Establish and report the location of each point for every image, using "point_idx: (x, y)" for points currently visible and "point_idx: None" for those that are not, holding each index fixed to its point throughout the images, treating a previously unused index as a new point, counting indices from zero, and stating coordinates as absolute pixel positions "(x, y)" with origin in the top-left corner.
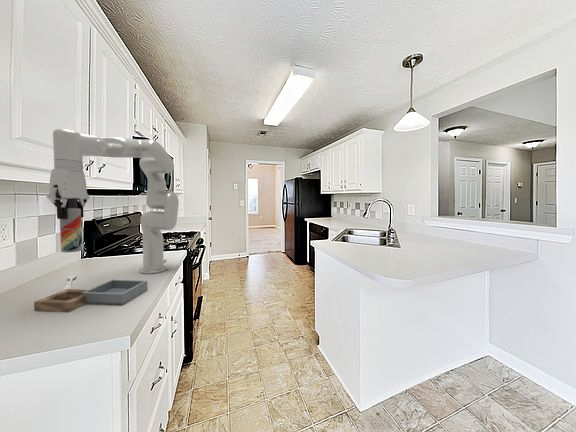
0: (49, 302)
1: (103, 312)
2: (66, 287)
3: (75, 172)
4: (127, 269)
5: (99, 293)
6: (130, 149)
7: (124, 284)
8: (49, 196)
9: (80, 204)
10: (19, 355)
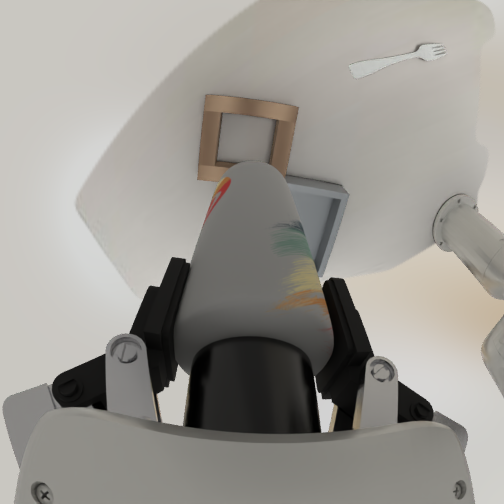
0: (201, 132)
1: None
2: (361, 68)
3: None
4: (479, 158)
5: None
6: None
7: (330, 224)
8: (16, 418)
9: (335, 409)
10: (80, 213)
